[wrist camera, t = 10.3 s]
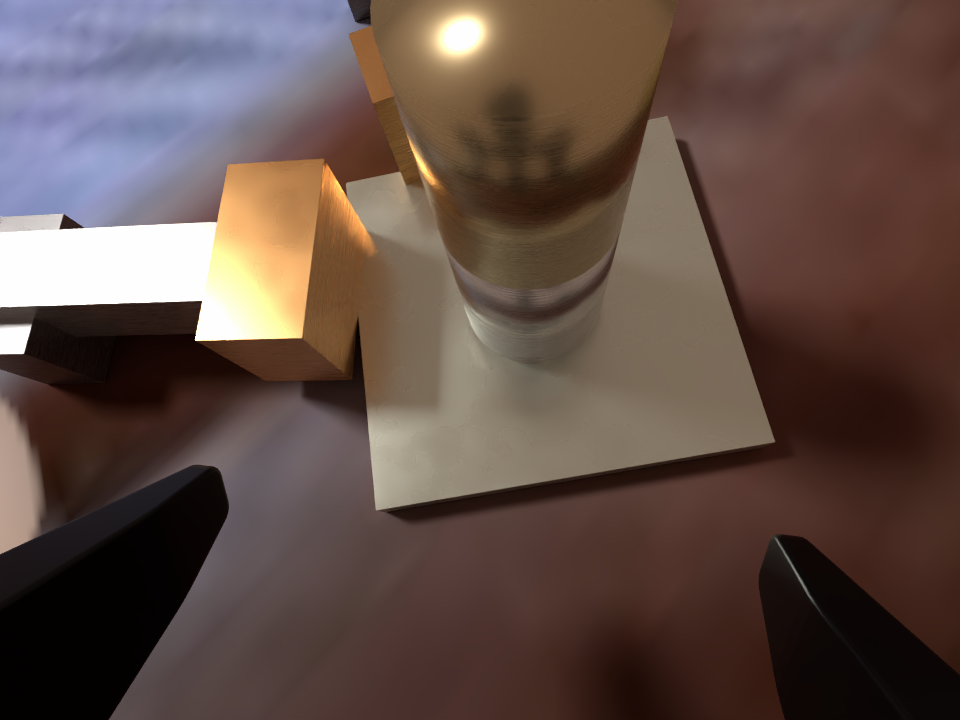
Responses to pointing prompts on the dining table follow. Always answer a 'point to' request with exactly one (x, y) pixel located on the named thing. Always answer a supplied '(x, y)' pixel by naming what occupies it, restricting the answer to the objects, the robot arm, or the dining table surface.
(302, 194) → the stand
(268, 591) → the dining table surface
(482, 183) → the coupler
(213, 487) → the robot arm
